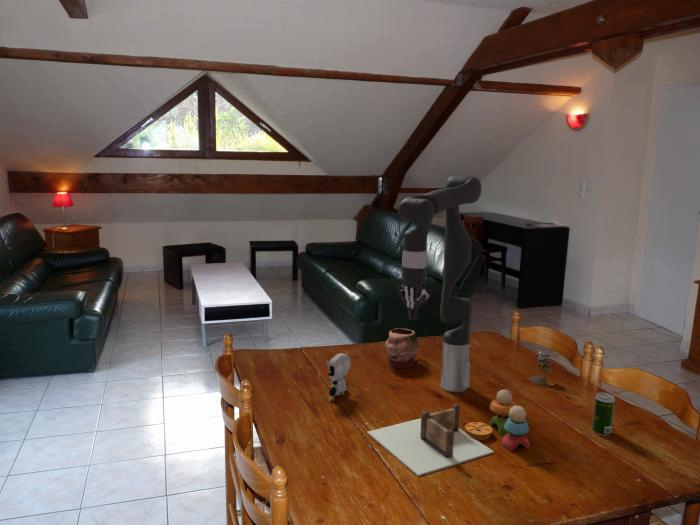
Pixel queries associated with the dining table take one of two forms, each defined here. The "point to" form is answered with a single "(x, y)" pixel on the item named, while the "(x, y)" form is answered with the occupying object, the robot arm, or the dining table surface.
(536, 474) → the dining table surface
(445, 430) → the panel
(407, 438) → the board
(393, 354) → the decorative planter
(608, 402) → the beer can
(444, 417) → the fence fixed
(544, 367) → the robot figurine
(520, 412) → the set of stacked toys
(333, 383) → the robot toy
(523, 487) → the dining table surface
